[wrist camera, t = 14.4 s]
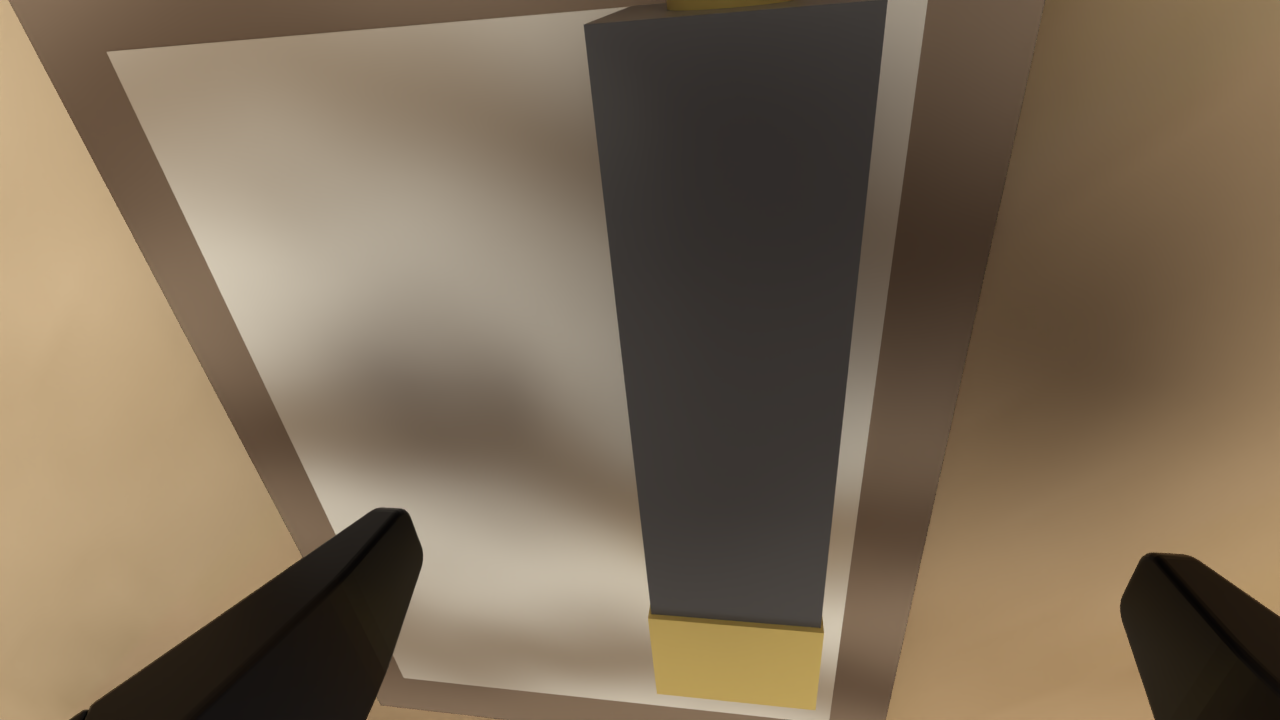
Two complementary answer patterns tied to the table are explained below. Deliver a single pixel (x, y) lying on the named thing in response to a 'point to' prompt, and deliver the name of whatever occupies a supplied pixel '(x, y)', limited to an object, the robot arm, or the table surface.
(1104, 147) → the table surface
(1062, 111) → the table surface
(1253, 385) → the table surface
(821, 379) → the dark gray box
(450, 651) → the writing board
